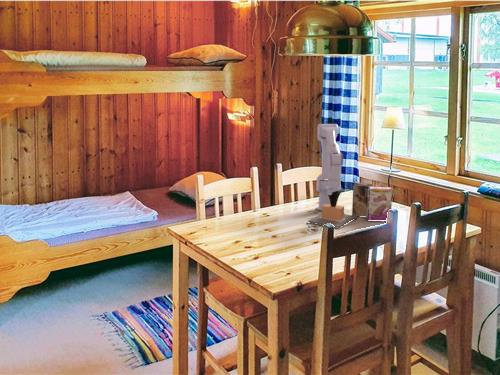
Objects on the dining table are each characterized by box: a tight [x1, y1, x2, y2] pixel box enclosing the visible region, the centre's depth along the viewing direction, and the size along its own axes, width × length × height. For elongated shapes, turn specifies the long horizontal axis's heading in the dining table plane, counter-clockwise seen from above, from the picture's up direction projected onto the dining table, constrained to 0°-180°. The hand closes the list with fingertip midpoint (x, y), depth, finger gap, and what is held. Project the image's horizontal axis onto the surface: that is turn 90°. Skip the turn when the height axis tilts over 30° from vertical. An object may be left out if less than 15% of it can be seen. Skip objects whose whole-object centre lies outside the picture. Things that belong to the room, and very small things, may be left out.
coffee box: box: [351, 182, 374, 216], centre depth 280 cm, size 9×6×16 cm
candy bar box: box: [365, 186, 394, 221], centre depth 272 cm, size 11×5×16 cm, turn 84°
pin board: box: [307, 213, 358, 229], centre depth 273 cm, size 20×16×5 cm
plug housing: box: [321, 204, 345, 221], centre depth 273 cm, size 5×10×6 cm, turn 63°
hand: (333, 206), depth 272 cm, fingers closed
